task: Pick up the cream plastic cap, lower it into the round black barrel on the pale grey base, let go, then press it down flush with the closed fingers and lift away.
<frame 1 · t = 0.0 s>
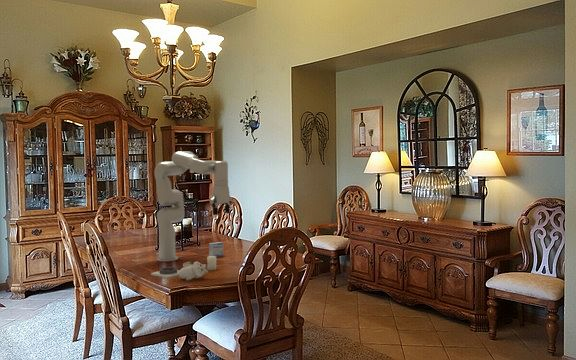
hand: (221, 213, 284), 31 cm above the table, tool pointing down, fingers open, 9 cm apart
medicine box: (216, 256, 321), on the table
cream cap: (211, 269, 286), on the table
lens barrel: (168, 274, 275), on the table
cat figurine: (193, 279, 265), on the table
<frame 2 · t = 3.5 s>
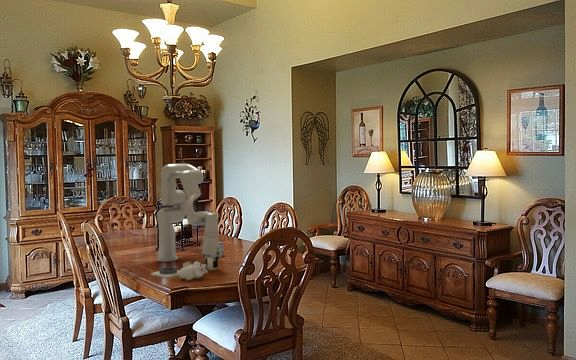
hand: (211, 266, 286), 1 cm above the table, tool pointing down, fingers closed on cream cap, 4 cm apart
cream cap: (211, 269, 286), on the table, touching gripper
everything else where it was.
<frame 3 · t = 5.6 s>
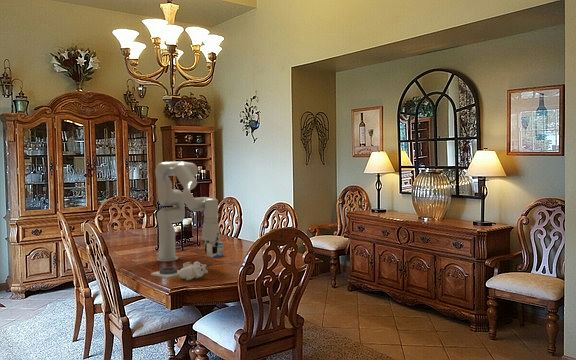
hand: (211, 252, 286), 9 cm above the table, tool pointing down, fingers closed on cream cap, 4 cm apart
cream cap: (211, 255, 286), point 8 cm above the table, touching gripper
everything else where it was.
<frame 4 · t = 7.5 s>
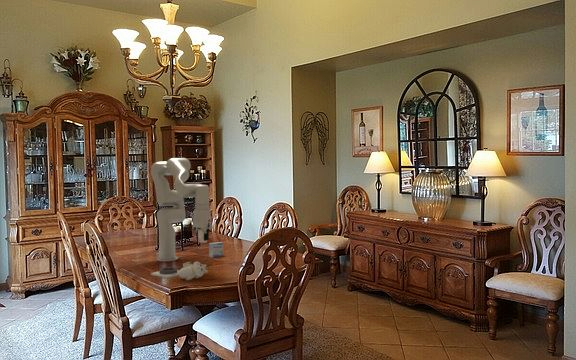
hand: (202, 239, 283), 17 cm above the table, tool pointing down, fingers closed on cream cap, 4 cm apart
cream cap: (202, 242, 283), point 16 cm above the table, touching gripper
everything else where it was.
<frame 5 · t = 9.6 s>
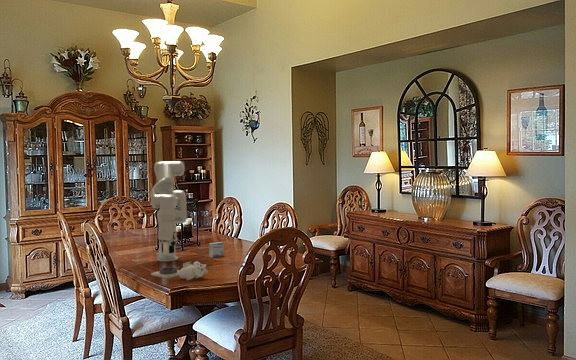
hand: (168, 252, 274), 12 cm above the table, tool pointing down, fingers closed on cream cap, 4 cm apart
cream cap: (168, 254, 274), point 11 cm above the table, touching gripper
everything else where it was.
when the fingers open (3 cm above the table, at t = 11.5 s): cream cap stays where it is, resting on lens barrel.
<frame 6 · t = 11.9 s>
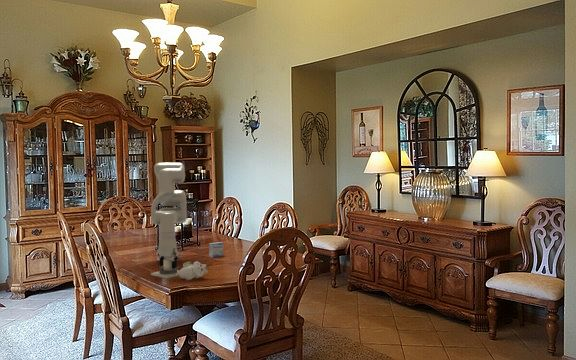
hand: (168, 266, 275), 4 cm above the table, tool pointing down, fingers open, 9 cm apart
cream cap: (168, 272, 275), point 1 cm above the table, touching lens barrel
everything else where it was.
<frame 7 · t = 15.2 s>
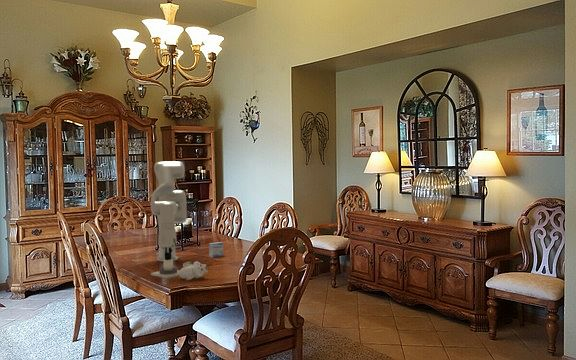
hand: (168, 259, 274), 8 cm above the table, tool pointing down, fingers closed
cream cap: (168, 272, 275), point 1 cm above the table, touching gripper, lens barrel
everything else where it was.
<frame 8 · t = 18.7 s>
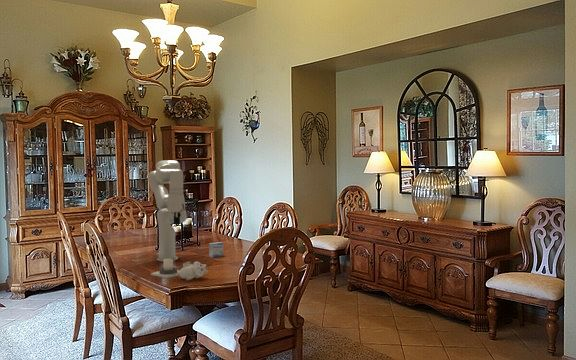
hand: (176, 224, 288), 25 cm above the table, tool pointing down, fingers closed
cream cap: (168, 272, 275), point 1 cm above the table, touching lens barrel
everything else where it was.
at the end: cream cap 0.0 cm off-centre on the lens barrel, point 1.1 cm above the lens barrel's base; cream cap tilted 1°; the gripper is holding nothing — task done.
